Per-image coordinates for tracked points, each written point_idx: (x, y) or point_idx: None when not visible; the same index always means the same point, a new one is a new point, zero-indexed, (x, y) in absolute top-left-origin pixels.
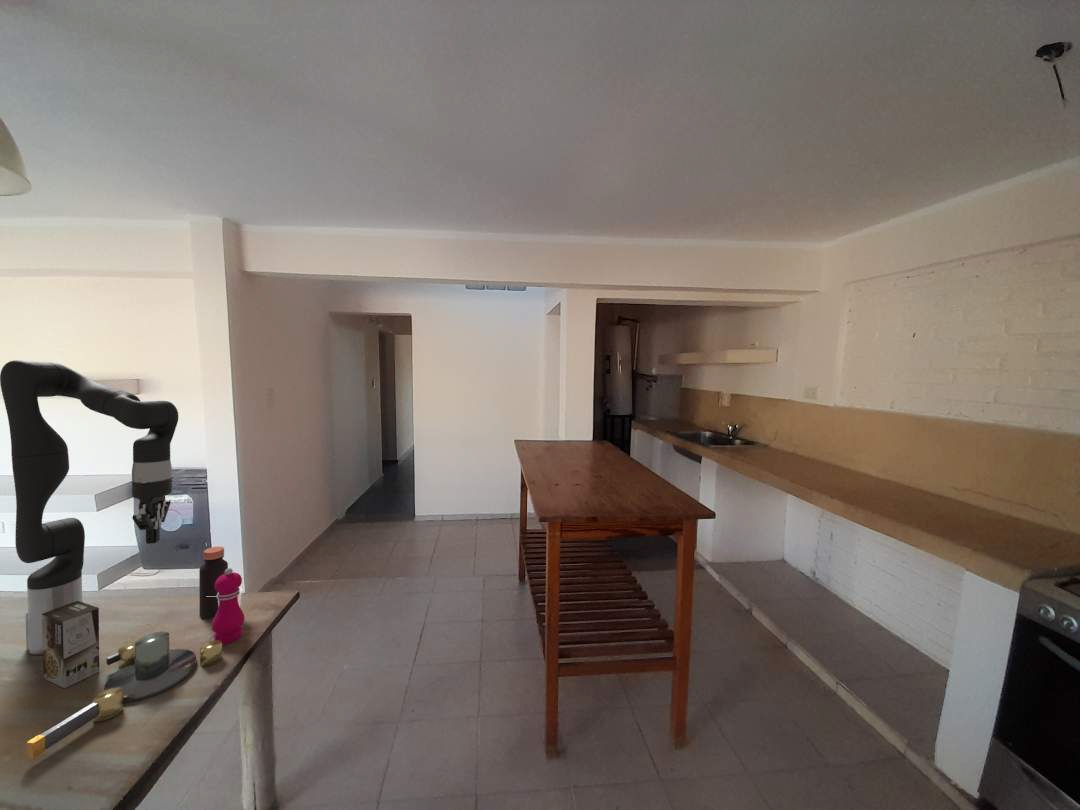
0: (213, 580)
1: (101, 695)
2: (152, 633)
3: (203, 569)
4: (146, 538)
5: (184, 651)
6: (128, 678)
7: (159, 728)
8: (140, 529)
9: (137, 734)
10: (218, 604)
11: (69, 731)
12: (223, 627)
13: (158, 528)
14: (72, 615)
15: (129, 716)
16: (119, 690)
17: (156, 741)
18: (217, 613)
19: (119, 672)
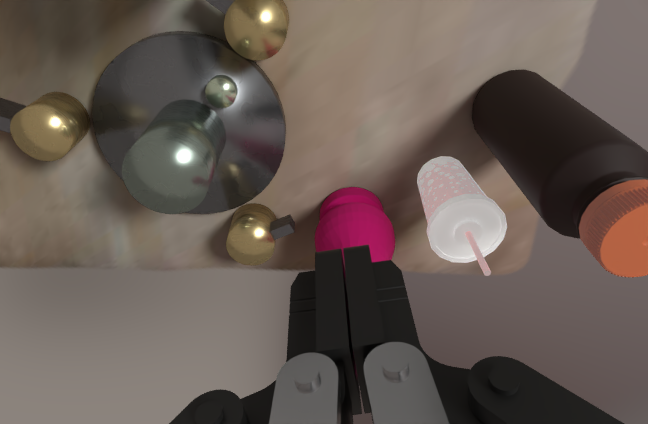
0: (522, 188)
1: (36, 119)
2: (196, 157)
3: (555, 178)
4: (317, 281)
5: (272, 161)
6: (158, 92)
7: (48, 238)
8: (190, 410)
9: (27, 211)
10: (444, 188)
11: None
12: (316, 250)
13: (369, 409)
14: None
15: (66, 164)
16: (59, 150)
17: (20, 252)
18: (339, 247)
19: (183, 46)
